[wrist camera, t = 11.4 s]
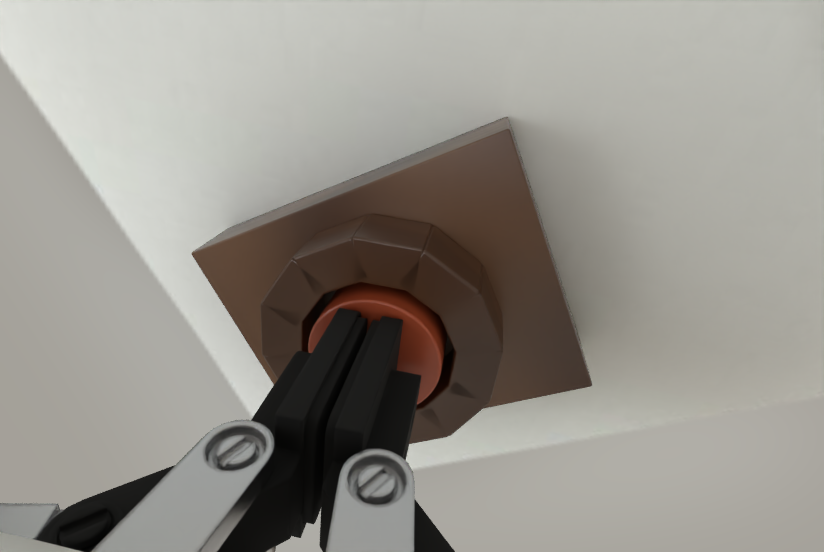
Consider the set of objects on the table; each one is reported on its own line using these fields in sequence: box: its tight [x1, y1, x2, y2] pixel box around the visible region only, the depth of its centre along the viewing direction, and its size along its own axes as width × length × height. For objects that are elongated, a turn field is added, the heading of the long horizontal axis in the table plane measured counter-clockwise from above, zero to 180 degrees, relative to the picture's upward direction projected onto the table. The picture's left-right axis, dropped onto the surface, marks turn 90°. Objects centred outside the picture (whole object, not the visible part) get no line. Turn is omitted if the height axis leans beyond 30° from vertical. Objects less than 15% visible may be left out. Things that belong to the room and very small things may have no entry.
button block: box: [192, 117, 592, 444], centre depth 14 cm, size 10×8×4 cm
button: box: [308, 282, 447, 404], centre depth 13 cm, size 4×4×2 cm
